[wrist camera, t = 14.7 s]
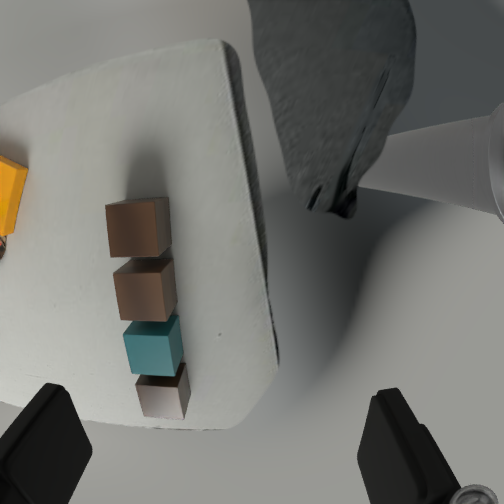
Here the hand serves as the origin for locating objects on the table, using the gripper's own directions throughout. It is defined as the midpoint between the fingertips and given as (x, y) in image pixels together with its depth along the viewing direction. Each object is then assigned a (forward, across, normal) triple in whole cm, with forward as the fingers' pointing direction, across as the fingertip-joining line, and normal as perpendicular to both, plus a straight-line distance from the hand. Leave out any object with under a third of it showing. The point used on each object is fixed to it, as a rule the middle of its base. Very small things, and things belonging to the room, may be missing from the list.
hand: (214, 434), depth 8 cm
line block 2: (+23, +9, +3) cm, 25 cm away
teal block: (+23, +9, +9) cm, 27 cm away
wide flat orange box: (+24, +29, -8) cm, 38 cm away
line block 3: (+23, +9, +15) cm, 29 cm away
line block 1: (+23, +9, -3) cm, 25 cm away
